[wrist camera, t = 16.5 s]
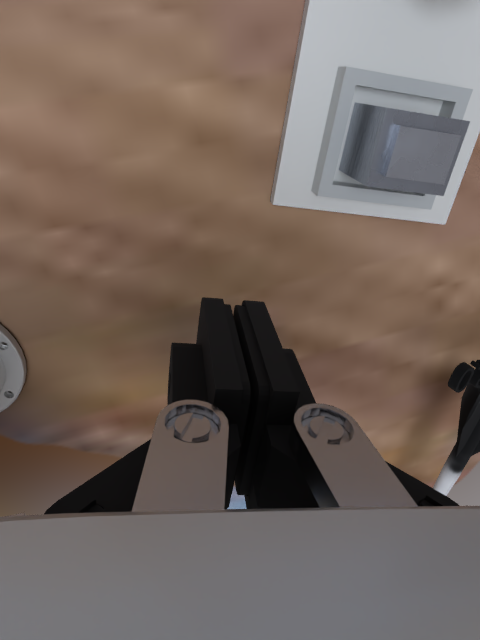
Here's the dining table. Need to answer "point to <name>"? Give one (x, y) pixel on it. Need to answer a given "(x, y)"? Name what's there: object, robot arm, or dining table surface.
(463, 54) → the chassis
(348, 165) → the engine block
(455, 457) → the rocket toy
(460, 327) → the dining table surface
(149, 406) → the dining table surface
